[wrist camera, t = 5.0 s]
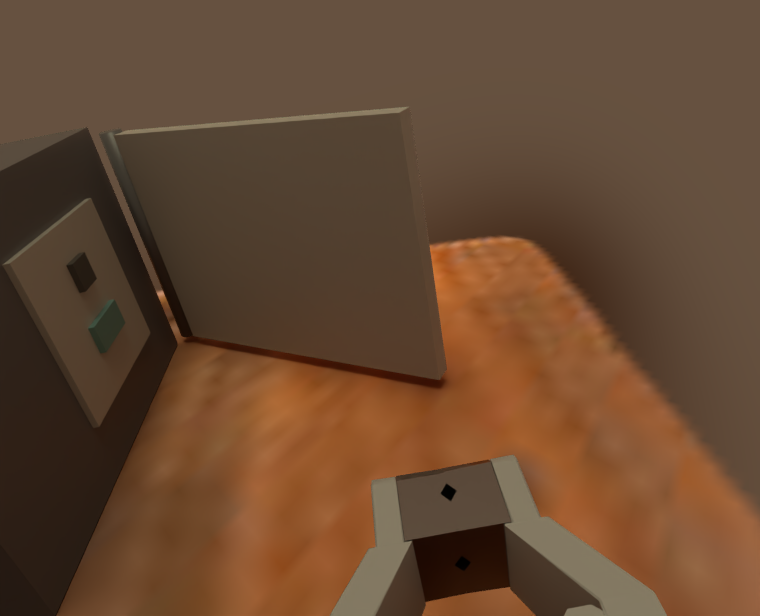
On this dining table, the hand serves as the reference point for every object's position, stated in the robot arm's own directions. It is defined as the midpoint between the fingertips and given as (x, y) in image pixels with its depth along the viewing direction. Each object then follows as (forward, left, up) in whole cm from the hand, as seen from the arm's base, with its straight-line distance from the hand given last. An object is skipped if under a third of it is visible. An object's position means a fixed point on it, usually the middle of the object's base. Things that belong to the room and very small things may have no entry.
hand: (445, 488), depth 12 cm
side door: (-10, +13, -5) cm, 17 cm away
